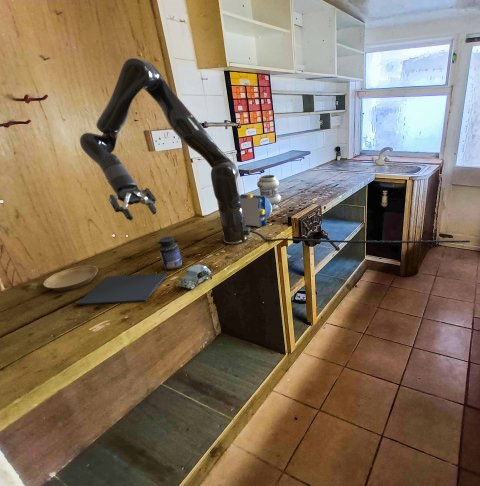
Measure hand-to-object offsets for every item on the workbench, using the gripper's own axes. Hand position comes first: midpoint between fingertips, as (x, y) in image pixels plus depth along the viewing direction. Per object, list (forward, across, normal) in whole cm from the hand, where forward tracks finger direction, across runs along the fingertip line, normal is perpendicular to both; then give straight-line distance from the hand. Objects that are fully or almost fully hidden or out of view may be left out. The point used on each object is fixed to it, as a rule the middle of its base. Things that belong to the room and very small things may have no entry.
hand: (143, 216), depth 114 cm
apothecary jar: (+9, +69, +12) cm, 71 cm away
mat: (+22, -17, +2) cm, 28 cm away
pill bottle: (+22, 0, +2) cm, 22 cm away
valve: (+15, +50, +6) cm, 52 cm away
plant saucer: (+10, -24, +16) cm, 31 cm away
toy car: (+34, -3, -12) cm, 36 cm away
